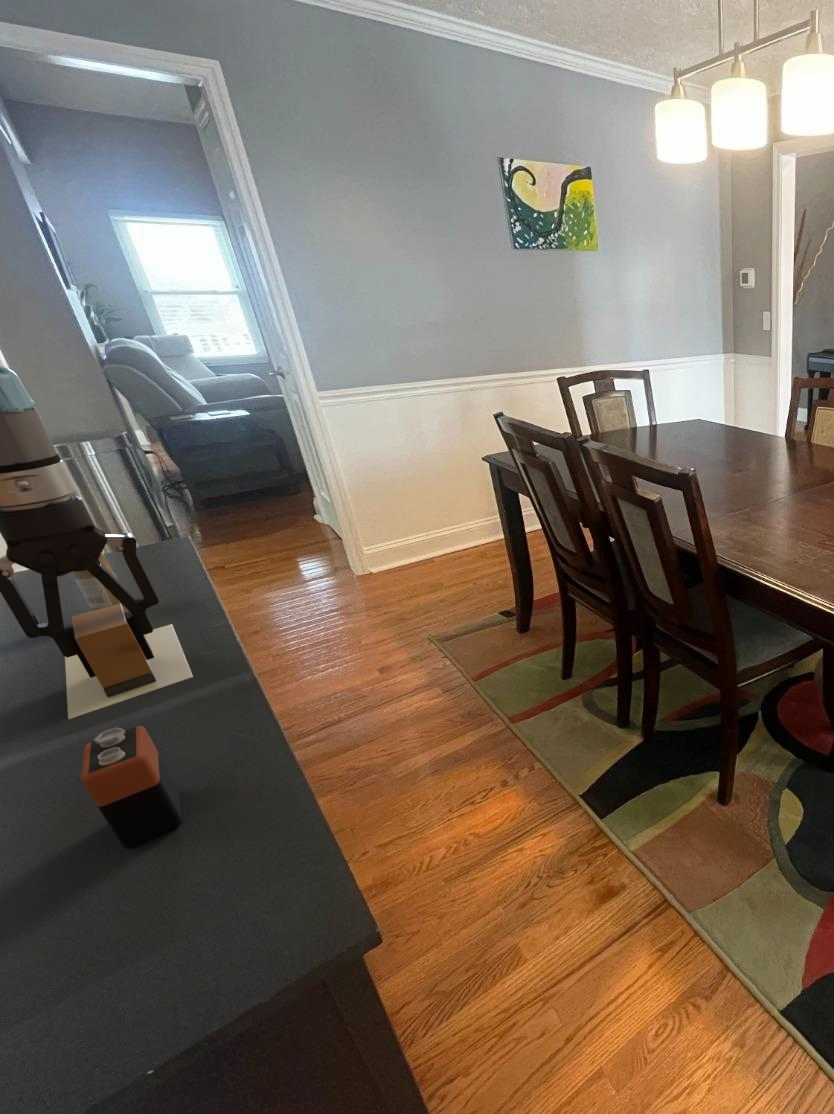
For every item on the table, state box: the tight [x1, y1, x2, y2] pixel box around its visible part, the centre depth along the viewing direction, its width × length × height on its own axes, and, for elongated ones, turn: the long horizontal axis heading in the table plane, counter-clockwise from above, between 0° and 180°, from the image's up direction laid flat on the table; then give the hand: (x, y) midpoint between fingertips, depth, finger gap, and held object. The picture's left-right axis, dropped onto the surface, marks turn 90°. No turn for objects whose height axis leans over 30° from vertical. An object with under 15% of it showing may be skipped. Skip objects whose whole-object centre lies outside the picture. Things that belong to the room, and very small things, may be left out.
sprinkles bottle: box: [71, 548, 129, 612], centre depth 97 cm, size 5×5×14 cm
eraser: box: [71, 604, 156, 697], centre depth 80 cm, size 9×5×9 cm, turn 48°
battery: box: [80, 725, 182, 849], centre depth 59 cm, size 4×7×10 cm, turn 44°
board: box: [64, 623, 194, 720], centre depth 85 cm, size 22×12×1 cm, turn 47°
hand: (122, 663), depth 81 cm, fingers closed on eraser, 5 cm apart
